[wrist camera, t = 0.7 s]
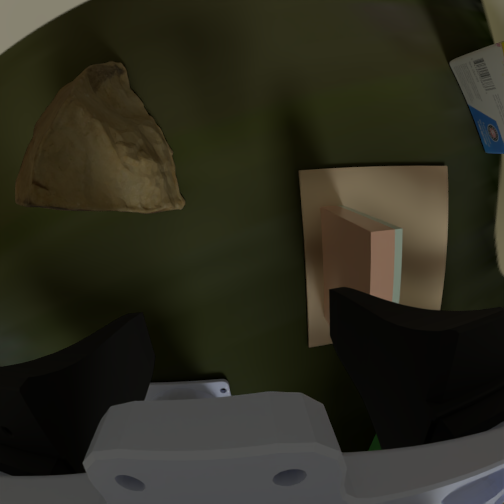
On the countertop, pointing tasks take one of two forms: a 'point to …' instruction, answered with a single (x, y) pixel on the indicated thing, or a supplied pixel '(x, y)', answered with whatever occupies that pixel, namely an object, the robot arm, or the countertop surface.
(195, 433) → the robot arm
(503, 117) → the ink box
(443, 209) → the mat
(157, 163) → the rock
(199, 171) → the countertop surface
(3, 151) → the countertop surface
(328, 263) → the tile
